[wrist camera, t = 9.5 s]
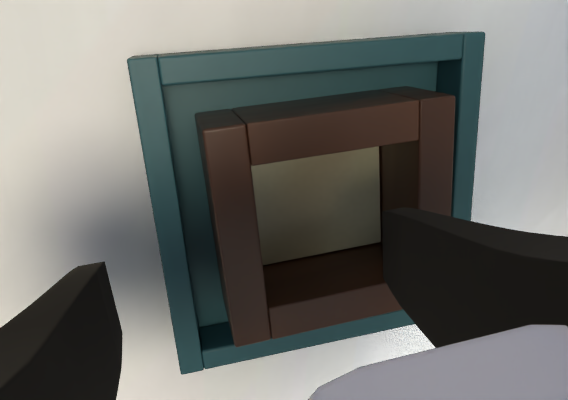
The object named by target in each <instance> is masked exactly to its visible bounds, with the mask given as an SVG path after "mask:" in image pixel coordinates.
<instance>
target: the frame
mask: <svg viewBox="0 0 568 400" xmlns="http://www.w3.org/2000/svg"><path fill="white" fill-rule="evenodd" d="M195 121H196V128H197V134H198V141H199V147H200V153H201V160H202V166H203V173H204V179H205V185H206V192H207V198H208V205H209V211H210V217H211V224H212V230H213V237H214V243H215V249H216V256H217V262H218V269H219V275H220V282H221V288H222V294H223V300H224V304H225V308H226V313H227V317H228V321H229V325H230V329H231V333H232V338H233V342H234V345H235V347H241V346H245V345H250V344H254V343H258V342H263V341H267V340H270V339H271V338H272V339H277V338H282V337H286V336H290V335H295V334H299V333H303V332H307V331H312V330H316V329H320V328H325V327H329V326H333V325H338V324H342V323H346V322H351V321H355V320H359V319H364V318H368V317H372V316H377V315H381V314H385V313H390V312H394V311H398V310H402V309H403V308H402V307H401V306H400V305H399V303H398V302H397V300H396V298H395V297H394V295H393V294H392V292H391V290H390V289H389V287H388V285H387V284H386V282H385V280H384V278H383V242H382V211H386V210H391V209H397V208H402V207H405V208H415V209H420V210H425V211H430V212H434V213H438V214H443V215H447V216H451V202H452V176H453V150H454V123H455V96H454V95H450V94H445V93H440V92H435V91H430V90H425V89H420V88H415V87H409V86H402V87H394V88H386V89H379V90H369V91H362V92H354V93H346V94H338V95H331V96H323V97H315V98H307V99H300V100H292V101H284V102H276V103H269V104H261V105H253V106H245V107H237V108H232V110H231V109H223V110H215V111H208V112H200V113H196V114H195Z"/></svg>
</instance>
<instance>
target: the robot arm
mask: <svg viewBox="0 0 568 400" xmlns="http://www.w3.org/2000/svg"><path fill="white" fill-rule="evenodd" d="M382 242H383V278H384V280H385V282H386V284H387V285H388V287H389V289H390V290H391V292H392V294H393V295H394V297H395V298H396V300H397V302H398V303H399V305H400V306H401V307H402V308H403V310H404V311H405V312H406V313H407V315H408V316H409V317H410V318H411V319H412V320H413V322H414V323H415V324H416V325H417V326H418V328H419V329H420V330H421V331H422V332H423V333H424V335H425V336H426V337H427V338H428V339H429V340H430V342H431V343H432V344H433V345H434V346H435V347H436V348H435V349H431V350H427V351H422V352H418V353H414V354H410V355H406V356H402V357H398V358H394V359H390V360H386V361H382V362H378V363H374V364H370V365H366V366H362V367H359V368H357V369H355V370H353V371H351V372H349V373H347V374H345V375H343V376H340V377H338V378H336V379H334V380H332V381H330V382H328V383H326V384H324V385H322V386H320V387H318V388H317V390H316V391H315V392H314V393H313V394H312V395H311V397H310V398H309V399H308V400H568V237H565V236H554V235H546V234H538V233H530V232H523V231H517V230H511V229H506V228H500V227H495V226H490V225H485V224H481V223H476V222H472V221H468V220H463V219H459V218H455V217H451V216H447V215H443V214H438V213H434V212H430V211H425V210H420V209H415V208H405V207H402V208H397V209H391V210H386V211H382ZM121 364H122V329H121V325H120V321H119V317H118V314H117V310H116V306H115V302H114V298H113V294H112V290H111V286H110V282H109V278H108V274H107V270H106V266H105V262H99V263H94V264H88V265H83V266H78V267H76V268H75V269H73V270H72V271H70V272H69V273H68V274H67V275H65V276H64V277H63V278H62V279H60V280H59V281H58V282H57V283H56V284H55V285H53V286H52V287H51V288H50V289H49V290H48V291H46V292H45V293H44V294H43V295H42V296H40V297H39V298H38V299H37V300H36V301H35V302H33V303H32V304H31V305H30V306H28V307H27V308H26V309H25V310H23V311H22V312H21V313H19V314H18V315H17V316H15V317H14V318H13V319H12V320H10V321H9V322H8V323H6V324H5V325H4V326H2V327H1V328H0V400H116V396H117V391H118V385H119V379H120V373H121Z"/></svg>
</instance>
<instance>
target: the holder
mask: <svg viewBox="0 0 568 400" xmlns="http://www.w3.org/2000/svg"><path fill="white" fill-rule="evenodd" d="M484 43H485V33H484V32H446V33H433V34H420V35H406V36H393V37H380V38H367V39H353V40H340V41H327V42H314V43H300V44H287V45H274V46H261V47H247V48H234V49H221V50H208V51H194V52H181V53H168V54H155V55H141V56H132V57H130V58H129V59H127V63H128V69H129V75H130V81H131V86H132V92H133V98H134V104H135V110H136V115H137V121H138V127H139V133H140V139H141V145H142V150H143V156H144V162H145V168H146V174H147V179H148V185H149V191H150V197H151V203H152V208H153V214H154V220H155V226H156V232H157V238H158V243H159V249H160V255H161V261H162V267H163V272H164V278H165V284H166V290H167V296H168V302H169V307H170V313H171V319H172V325H173V331H174V336H175V342H176V348H177V354H178V360H179V366H180V371H181V374H187V373H192V372H197V371H201V370H203V369H204V368H205V369H208V368H213V367H218V366H222V365H227V364H232V363H236V362H241V361H245V360H250V359H255V358H259V357H264V356H269V355H273V354H278V353H283V352H287V351H292V350H296V349H301V348H306V347H310V346H315V345H320V344H324V343H329V342H334V341H338V340H343V339H347V338H352V337H357V336H361V335H366V334H371V333H375V332H380V331H385V330H389V329H394V328H398V327H403V326H408V325H412V324H415V323H414V322H413V320H412V319H411V318H410V317H409V316H408V315H407V313H406V312H405V311H404V310H403V309H402V310H398V311H394V312H390V313H385V314H381V315H377V316H372V317H368V318H364V319H359V320H355V321H351V322H346V323H342V324H338V325H333V326H329V327H325V328H320V329H316V330H312V331H307V332H303V333H299V334H295V335H290V336H286V337H282V338H277V339H272V338H271V339H270V340H267V341H263V342H258V343H254V344H250V345H245V346H241V347H235V345H234V342H233V338H232V333H231V329H230V325H229V321H228V317H227V313H226V308H225V304H224V300H223V294H222V288H221V282H220V275H219V269H218V262H217V256H216V249H215V243H214V237H213V230H212V224H211V217H210V211H209V205H208V198H207V192H206V185H205V179H204V173H203V166H202V160H201V153H200V147H199V141H198V134H197V128H196V121H195V114H196V113H200V112H208V111H215V110H223V109H231V110H232V108H237V107H245V106H253V105H261V104H269V103H276V102H284V101H292V100H300V99H307V98H315V97H323V96H331V95H338V94H346V93H354V92H362V91H369V90H379V89H386V88H394V87H402V86H409V87H415V88H420V89H425V90H430V91H435V92H440V93H445V94H450V95H454V96H455V123H454V150H453V176H452V202H451V217H455V218H459V219H463V220H468V221H471V208H472V196H473V183H474V170H475V157H476V145H477V132H478V119H479V107H480V94H481V81H482V69H483V56H484Z"/></svg>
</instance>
